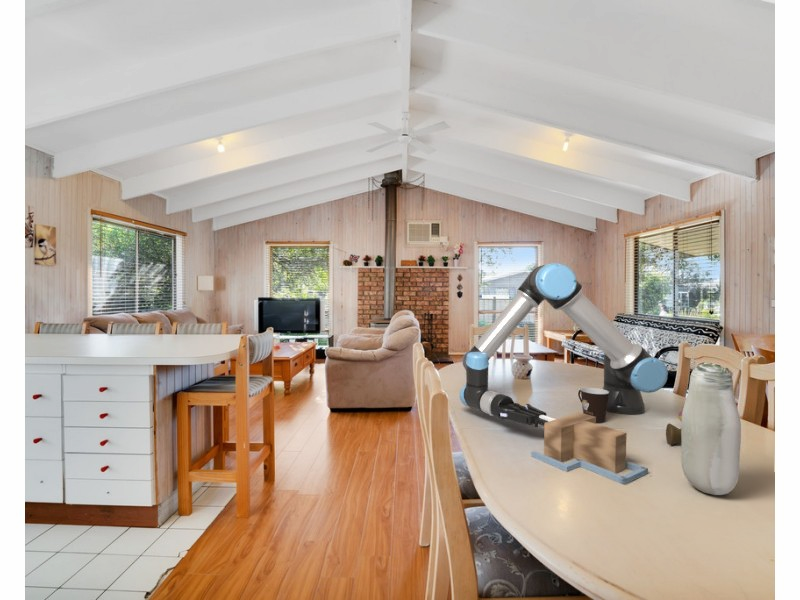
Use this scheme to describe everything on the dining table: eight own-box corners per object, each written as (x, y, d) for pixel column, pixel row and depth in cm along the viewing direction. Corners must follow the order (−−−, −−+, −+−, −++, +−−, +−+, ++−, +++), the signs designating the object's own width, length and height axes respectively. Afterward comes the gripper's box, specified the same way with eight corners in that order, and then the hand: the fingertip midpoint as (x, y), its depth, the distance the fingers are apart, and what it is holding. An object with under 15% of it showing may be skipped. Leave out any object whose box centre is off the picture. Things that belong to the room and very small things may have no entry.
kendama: (678, 464, 104) (661, 435, 123) (724, 472, 100) (699, 441, 119) (680, 441, 104) (662, 416, 122) (726, 448, 100) (701, 421, 119)
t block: (544, 456, 108) (544, 422, 107) (578, 443, 117) (579, 412, 116) (602, 480, 94) (603, 441, 94) (636, 463, 103) (637, 428, 103)
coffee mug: (611, 425, 132) (612, 394, 131) (583, 423, 133) (584, 393, 133) (601, 414, 143) (602, 386, 143) (575, 412, 145) (576, 384, 144)
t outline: (531, 456, 108) (531, 451, 108) (580, 439, 119) (580, 435, 119) (610, 491, 89) (610, 485, 89) (659, 467, 101) (659, 463, 101)
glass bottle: (749, 504, 84) (753, 370, 83) (695, 500, 86) (698, 368, 85) (720, 481, 94) (723, 361, 93) (671, 478, 95) (674, 360, 94)
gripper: (511, 413, 135) (574, 435, 115) (482, 420, 129) (544, 444, 109) (511, 391, 135) (575, 409, 115) (482, 396, 128) (544, 417, 108)
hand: (560, 426), depth 112 cm, fingers closed
